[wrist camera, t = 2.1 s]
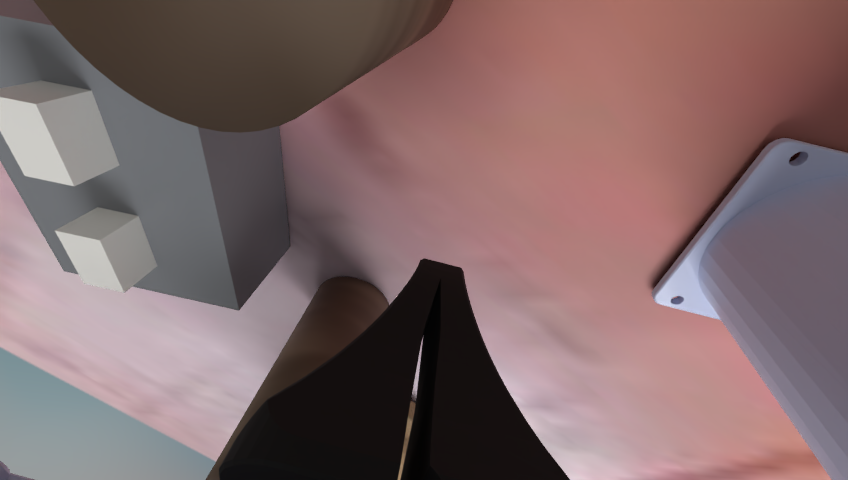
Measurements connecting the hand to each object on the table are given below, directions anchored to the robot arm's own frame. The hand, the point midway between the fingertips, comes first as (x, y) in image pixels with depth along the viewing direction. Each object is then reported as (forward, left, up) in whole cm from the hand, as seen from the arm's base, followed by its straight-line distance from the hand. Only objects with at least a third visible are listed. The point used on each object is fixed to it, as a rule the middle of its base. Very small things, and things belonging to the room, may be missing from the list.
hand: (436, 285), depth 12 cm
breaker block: (+12, 0, -6) cm, 13 cm away
